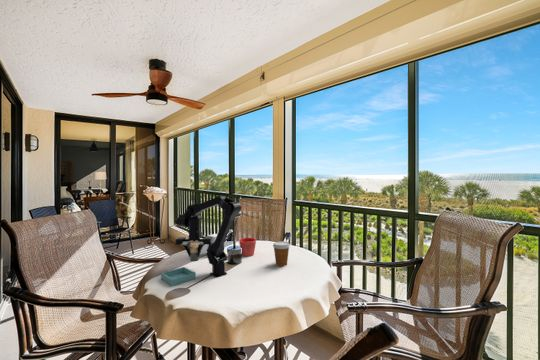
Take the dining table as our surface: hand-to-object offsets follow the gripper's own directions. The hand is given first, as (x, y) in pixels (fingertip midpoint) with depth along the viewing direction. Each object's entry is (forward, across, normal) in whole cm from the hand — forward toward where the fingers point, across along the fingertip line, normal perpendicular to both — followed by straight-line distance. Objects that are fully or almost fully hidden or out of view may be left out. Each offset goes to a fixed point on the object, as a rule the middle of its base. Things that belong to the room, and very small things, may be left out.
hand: (194, 256), depth 134 cm
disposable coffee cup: (+7, -48, -6) cm, 48 cm away
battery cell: (+2, 0, 0) cm, 2 cm away
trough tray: (+7, +4, +13) cm, 15 cm away
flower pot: (+7, -27, -25) cm, 38 cm away
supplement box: (+7, -6, -27) cm, 28 cm away
